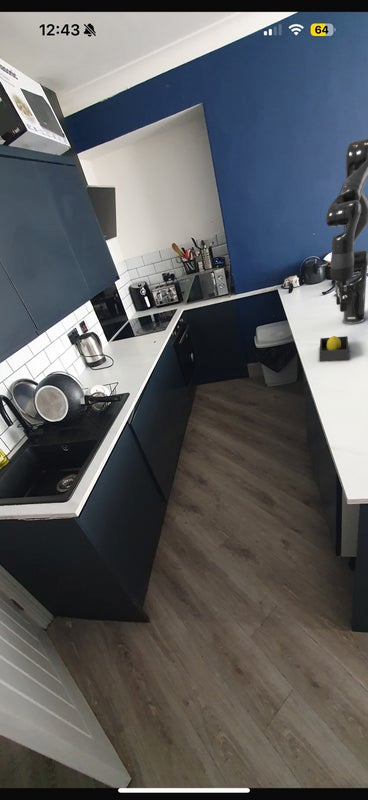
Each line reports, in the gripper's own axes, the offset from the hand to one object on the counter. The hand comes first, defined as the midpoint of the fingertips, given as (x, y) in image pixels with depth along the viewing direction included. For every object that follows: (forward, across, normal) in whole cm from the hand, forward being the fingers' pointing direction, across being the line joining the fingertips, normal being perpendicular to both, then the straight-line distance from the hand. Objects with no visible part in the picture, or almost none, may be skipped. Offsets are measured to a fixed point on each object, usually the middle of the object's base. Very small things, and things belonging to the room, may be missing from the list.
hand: (341, 307), depth 122 cm
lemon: (+21, +3, +2) cm, 21 cm away
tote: (+21, +3, +2) cm, 21 cm away
